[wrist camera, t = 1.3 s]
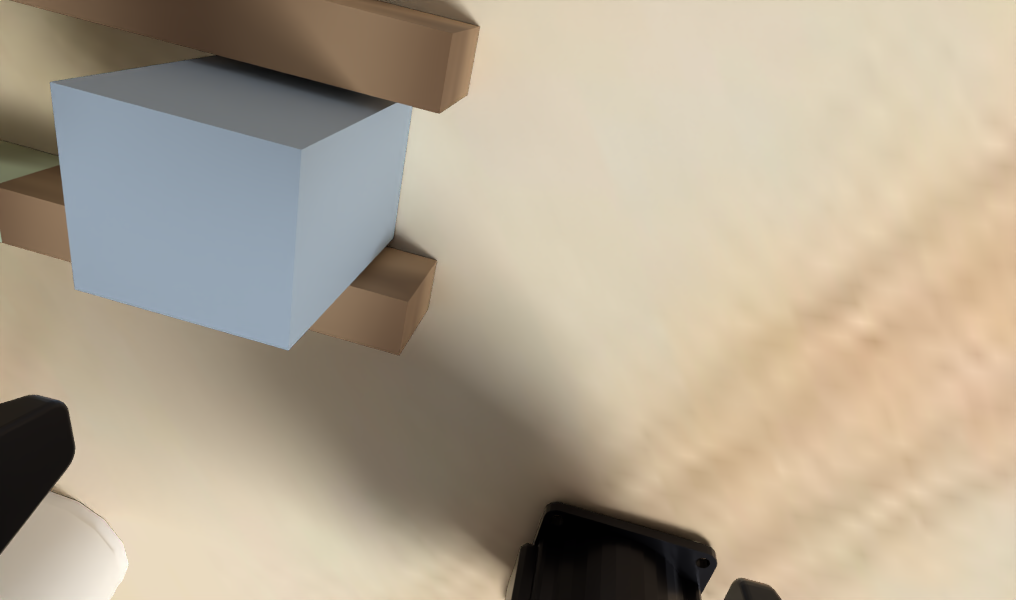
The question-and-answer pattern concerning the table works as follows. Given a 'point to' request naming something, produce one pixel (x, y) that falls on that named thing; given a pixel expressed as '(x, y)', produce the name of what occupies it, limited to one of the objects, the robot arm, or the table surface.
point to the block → (226, 191)
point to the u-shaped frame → (297, 51)
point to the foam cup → (62, 555)
